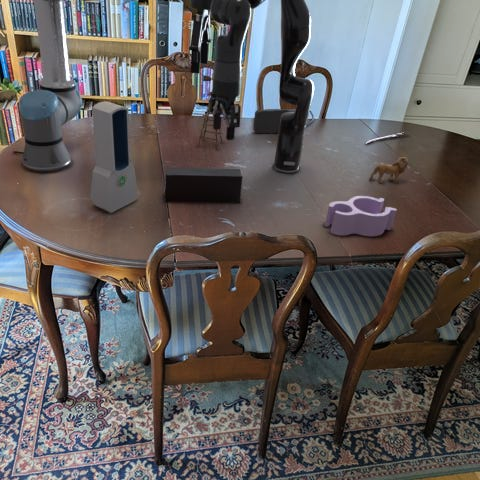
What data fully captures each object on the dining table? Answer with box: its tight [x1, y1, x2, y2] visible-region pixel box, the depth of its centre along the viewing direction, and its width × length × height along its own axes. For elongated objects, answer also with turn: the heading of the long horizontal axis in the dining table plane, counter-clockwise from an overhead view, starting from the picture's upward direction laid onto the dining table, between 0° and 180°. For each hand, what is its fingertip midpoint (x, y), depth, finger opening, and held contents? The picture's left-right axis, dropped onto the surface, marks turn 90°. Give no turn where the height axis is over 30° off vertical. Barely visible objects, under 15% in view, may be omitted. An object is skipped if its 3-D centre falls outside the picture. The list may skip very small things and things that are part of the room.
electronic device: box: [89, 101, 139, 214], centre depth 133 cm, size 12×8×30 cm, turn 148°
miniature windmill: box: [197, 74, 224, 150], centre depth 180 cm, size 9×8×30 cm
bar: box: [165, 166, 243, 204], centre depth 147 cm, size 23×5×9 cm, turn 98°
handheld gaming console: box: [252, 108, 296, 134], centre depth 205 cm, size 23×3×10 cm, turn 108°
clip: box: [324, 195, 398, 237], centre depth 141 cm, size 20×12×7 cm, turn 109°
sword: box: [365, 132, 410, 145], centre depth 213 cm, size 31×3×1 cm, turn 126°
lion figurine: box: [368, 156, 409, 184], centre depth 171 cm, size 15×5×9 cm, turn 110°
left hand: (199, 68), depth 150 cm, fingers open, 13 cm apart
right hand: (223, 134), depth 135 cm, fingers open, 8 cm apart
